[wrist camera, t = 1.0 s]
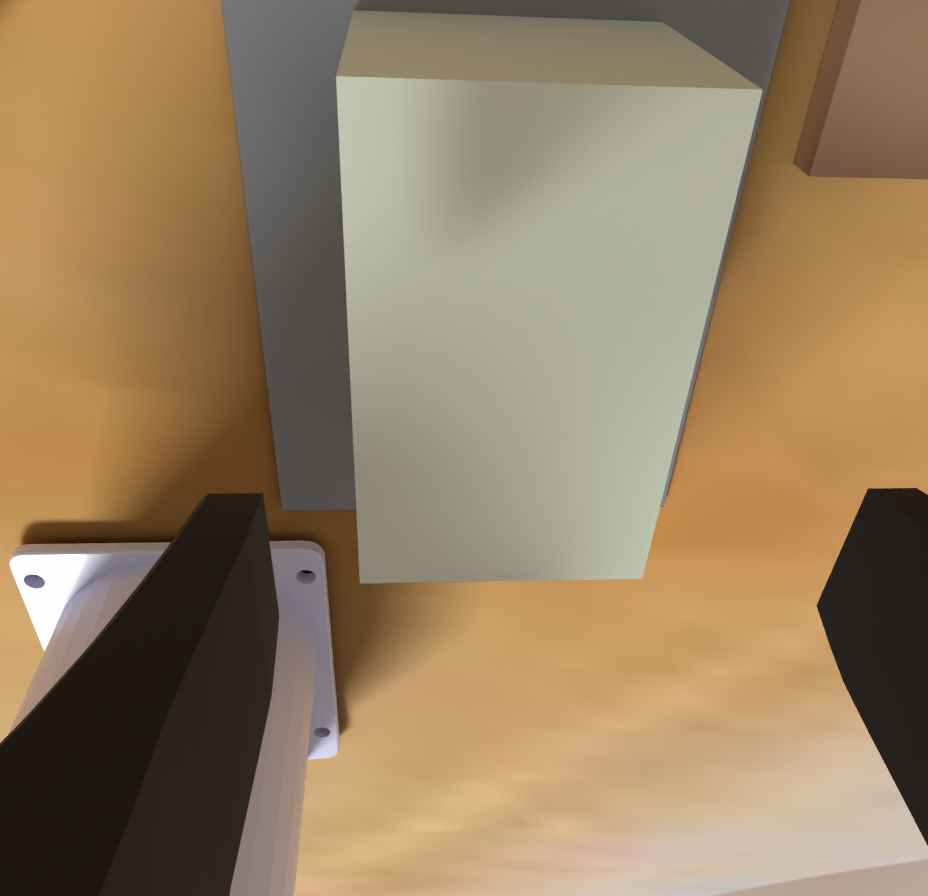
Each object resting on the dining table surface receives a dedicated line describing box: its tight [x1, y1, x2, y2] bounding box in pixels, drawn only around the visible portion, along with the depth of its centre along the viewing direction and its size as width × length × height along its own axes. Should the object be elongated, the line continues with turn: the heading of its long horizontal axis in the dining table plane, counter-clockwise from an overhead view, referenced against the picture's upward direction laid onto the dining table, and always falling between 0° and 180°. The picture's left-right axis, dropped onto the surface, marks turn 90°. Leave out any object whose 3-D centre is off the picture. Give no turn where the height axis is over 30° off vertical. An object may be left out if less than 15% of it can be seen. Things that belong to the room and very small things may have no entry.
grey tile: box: [221, 0, 790, 511], centre depth 17 cm, size 14×10×1 cm
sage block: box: [336, 10, 763, 583], centre depth 15 cm, size 9×6×5 cm, turn 177°
